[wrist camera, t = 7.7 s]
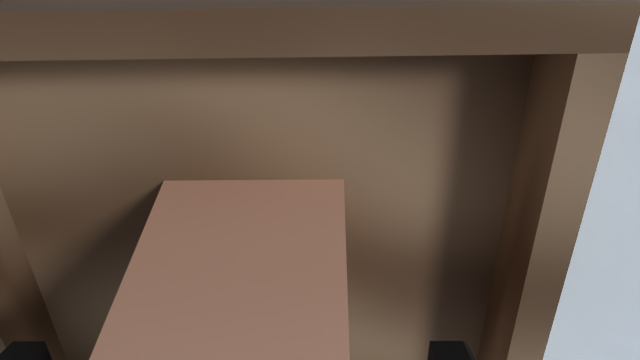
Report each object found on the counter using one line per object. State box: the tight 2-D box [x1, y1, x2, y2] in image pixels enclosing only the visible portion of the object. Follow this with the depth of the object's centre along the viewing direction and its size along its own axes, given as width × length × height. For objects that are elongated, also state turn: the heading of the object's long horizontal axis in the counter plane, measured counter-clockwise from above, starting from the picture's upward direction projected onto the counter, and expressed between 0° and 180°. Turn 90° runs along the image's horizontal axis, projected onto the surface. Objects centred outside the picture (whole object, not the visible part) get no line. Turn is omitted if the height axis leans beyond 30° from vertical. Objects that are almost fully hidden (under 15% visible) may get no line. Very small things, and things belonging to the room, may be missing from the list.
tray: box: [0, 0, 640, 360], centre depth 14 cm, size 13×13×2 cm
